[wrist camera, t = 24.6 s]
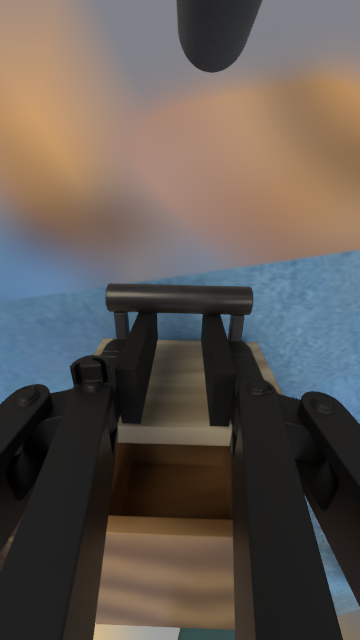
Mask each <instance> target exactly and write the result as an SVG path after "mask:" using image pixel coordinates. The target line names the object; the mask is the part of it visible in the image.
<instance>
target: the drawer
mask: <svg viewBox="0 0 360 640" xmlns="http://www.w3.org/2000/svg"><path fill="white" fill-rule="evenodd" d="M106 306H107V309H108V311H110V312H114V319H115V328H116V337H117V339H128V336H129V334H130V331H129V320H128V312H149V313H189V314H229V315H231V317H230V326H229V334H228V341H241V337H242V330H243V323H244V315H249V314H250V313H251V311H252V307H253V291H252V288H251V287H237V286H195V285H152V284H108V286H107V289H106ZM111 340H113V339H111V338H103V340H102V341H101V343H100V345H99V346H98V348H97V349H96V351H95V353H94V354H93V355H101V353H102V352H103V349H104V347H105V346H106V344H107V343H109V342H110V341H111ZM245 343H246V344H247V345H248V346H249V347H250V348H251V350H252V353H253V355H254V357H255V361H256V362H257V364H258V367H259V369H260V371H261V374H262V376H263V378H264V380H266V381H268V382H269V383H271V384H272V385H273V386H274V387H275V389H276V391H277V393H279V394H281V395H283V394H282V392H281V390H280V388H279V386H278V384H277V381H276V379H275V377H274V375H273V373H272V371H271V369H270V367H269V365H268V363H267V361H266V359H265V357H264V355H263V353H262V351H261V349H260V347H259V345H258V343H257V342H245ZM117 425H118V433H119V434H118V442H117V451H116V459H115V467H114V475H113V483H112V491H111V499H110V507H109V515H115V516H142V517H169V518H196V519H223V520H232V473H231V451H229V445H230V439H231V432H232V424H231V419H230V422H229V427H218V426H210V423H209V413H208V403H207V394H206V384H205V374H204V364H203V355H202V345H201V341H186V340H158V341H157V346H156V351H155V356H154V361H153V366H152V370H151V375H150V380H149V385H148V390H147V395H146V400H145V404H144V409H143V414H142V419H141V424H123V423H122V422H121V415H120V418H119V421H118V424H117Z"/></svg>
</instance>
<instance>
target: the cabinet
mask: <svg viewBox="0 0 360 640" xmlns="http://www.w3.org/2000/svg"><path fill="white" fill-rule="evenodd" d="M95 622H96V624H110V625H134V626H157V627H179V628H202V629H225V630H235V614H234V567H233V520H223V519H196V518H169V517H142V516H115V515H108V523H107V531H106V539H105V547H104V555H103V564H102V572H101V580H100V588H99V596H98V604H97V612H96V620H95Z"/></svg>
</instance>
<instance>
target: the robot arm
mask: <svg viewBox="0 0 360 640" xmlns="http://www.w3.org/2000/svg"><path fill="white" fill-rule="evenodd" d="M157 341H158V332H157V313H149V312H139V313H138V315H137V318H136V320H135V322H134V325H133V327H132V329H131V332H130V334H129V336H128V339H113V340H111V341H110V342H109V343H107V344H106V346H105V347H104V349H103V352H102V353H101V355H90V356H85V357H82V358H80V359H78V360H76V361H75V362H73V364H72V365H71V366H70V370H71V374H72V379H73V383H74V387H73V388H72V389H69V390H66V391H61V392H56V393H50V391H49V389H48V388H47V387H46V386H44V385H40V384H36V385H29V386H25V387H23V388H21V389H18V390H16V391H15V392H14V393H12V394H11V395H10V396H9V397H7V398H6V399H5V400H4V401H3V402H2V403H1V404H0V553H1V551H2V549H3V548H4V546H5V544H6V543H7V541H8V540H9V538H10V536H11V535H12V533H13V531H14V530H15V528H16V526H17V525H18V523H19V521H20V520H21V521H20V524H19V526H18V529H17V531H16V534H15V536H14V539H13V541H12V544H11V547H10V549H9V552H8V554H7V557H6V559H5V562H4V564H3V567H2V569H1V572H0V640H93V635H94V627H95V620H96V612H97V604H98V596H99V588H100V580H101V572H102V564H103V555H104V547H105V539H106V531H107V523H108V515H109V507H110V499H111V491H112V483H113V475H114V467H115V459H116V451H117V442H118V434H119V433H118V425H117V424H118V421H119V418H120V415H121V422H122V423H123V424H141V419H142V414H143V409H144V404H145V400H146V395H147V390H148V385H149V380H150V375H151V370H152V366H153V361H154V356H155V351H156V346H157ZM201 345H202V355H203V364H204V374H205V384H206V394H207V403H208V413H209V423H210V426H218V427H229V422H230V419H231V424H232V432H231V439H230V445H229V451H231V473H232V520H233V567H234V614H235V640H343V638H342V634H341V630H340V627H339V623H338V620H337V615H336V612H335V608H334V604H333V600H332V597H331V593H330V589H329V585H328V582H327V578H326V574H325V570H324V567H323V563H322V559H321V555H320V552H319V548H318V544H317V541H316V537H315V533H314V529H313V526H312V522H311V518H310V514H309V511H308V507H307V503H306V499H305V496H306V498H307V500H308V502H309V504H310V506H311V508H312V510H313V512H314V514H315V516H316V518H317V520H318V522H319V524H320V527H321V529H322V531H323V533H324V535H325V537H326V539H327V541H328V543H329V545H330V547H331V549H332V551H333V553H334V555H335V557H336V559H337V561H338V563H339V565H340V567H341V569H342V571H343V573H344V575H345V577H346V579H347V581H348V583H349V586H350V588H351V590H352V592H353V594H354V596H355V598H356V600H357V602H358V604H359V606H360V424H359V423H358V422H357V421H356V420H355V418H354V417H353V416H352V415H351V414H350V413H349V412H348V411H347V409H346V408H345V407H344V406H343V405H342V404H341V403H340V402H339V401H337V400H336V399H335V398H333V397H331V396H329V395H327V394H324V393H321V392H313V391H311V392H307V393H305V394H304V395H303V396H302V398H301V400H299V399H295V398H291V397H287V396H284V395H281V394H279V393H277V391H276V389H275V387H274V386H273V385H272V384H271V383H269V382H268V381H266V380H264V378H263V376H262V374H261V371H260V369H259V367H258V364H257V362H256V361H255V357H254V355H253V353H252V350H251V348H250V347H249V346H248V345H247V344H246V343H245V342H241V341H228V340H227V336H226V333H225V329H224V326H223V323H222V319H221V316H220V314H203V319H202V335H201ZM304 494H305V496H304ZM21 518H22V519H21Z"/></svg>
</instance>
